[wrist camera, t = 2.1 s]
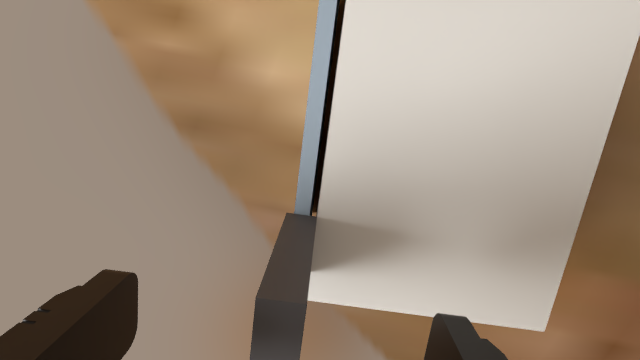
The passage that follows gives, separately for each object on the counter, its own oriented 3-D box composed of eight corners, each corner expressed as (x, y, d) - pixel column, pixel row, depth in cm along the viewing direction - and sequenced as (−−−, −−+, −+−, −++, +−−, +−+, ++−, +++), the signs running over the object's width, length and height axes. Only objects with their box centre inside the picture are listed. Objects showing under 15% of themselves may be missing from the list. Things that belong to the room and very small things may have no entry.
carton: (345, -6, 22) (357, -83, 12) (514, 16, 22) (664, -42, 12) (316, 217, 25) (306, 300, 15) (461, 237, 25) (544, 331, 15)
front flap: (325, -8, 21) (308, -250, 6) (345, -5, 21) (380, -241, 6) (298, 212, 25) (244, 415, 9) (316, 214, 25) (291, 421, 9)
